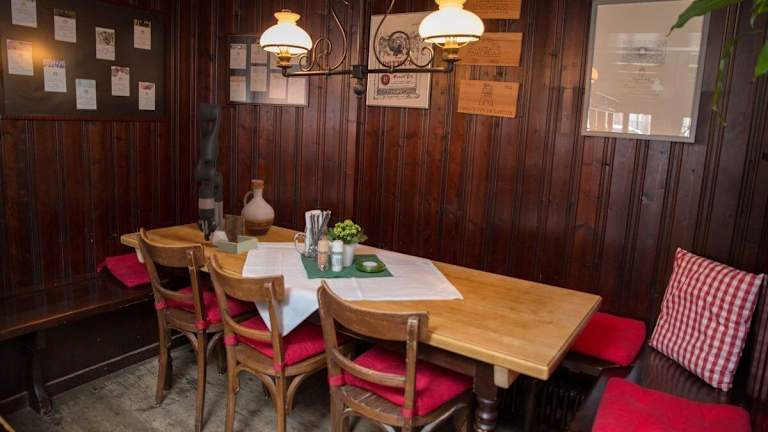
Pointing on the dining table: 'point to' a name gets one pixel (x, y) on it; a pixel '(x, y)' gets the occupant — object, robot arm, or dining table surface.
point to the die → (218, 238)
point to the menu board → (234, 227)
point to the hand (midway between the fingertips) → (207, 240)
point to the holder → (238, 245)
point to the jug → (257, 211)
